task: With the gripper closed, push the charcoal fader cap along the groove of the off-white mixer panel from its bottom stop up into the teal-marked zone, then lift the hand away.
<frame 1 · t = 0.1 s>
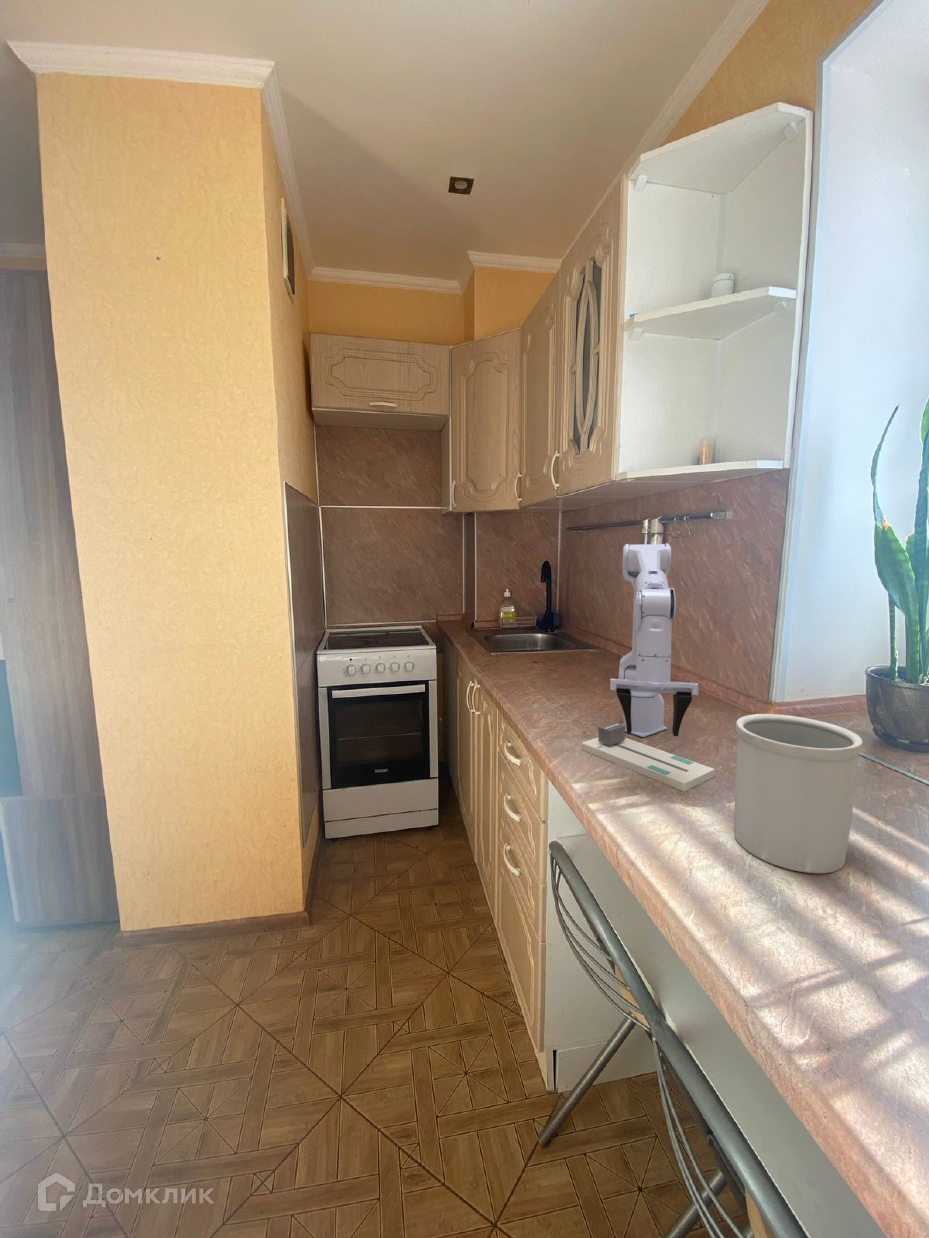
hand: (651, 733, 90), 11 cm above the worktop, tool pointing down, fingers open, 7 cm apart
utensil holder: (786, 845, 74), on the worktop
mixer panel: (643, 762, 103), on the worktop
fader: (611, 733, 109), point 4 cm above the worktop, slide at 0.0 cm
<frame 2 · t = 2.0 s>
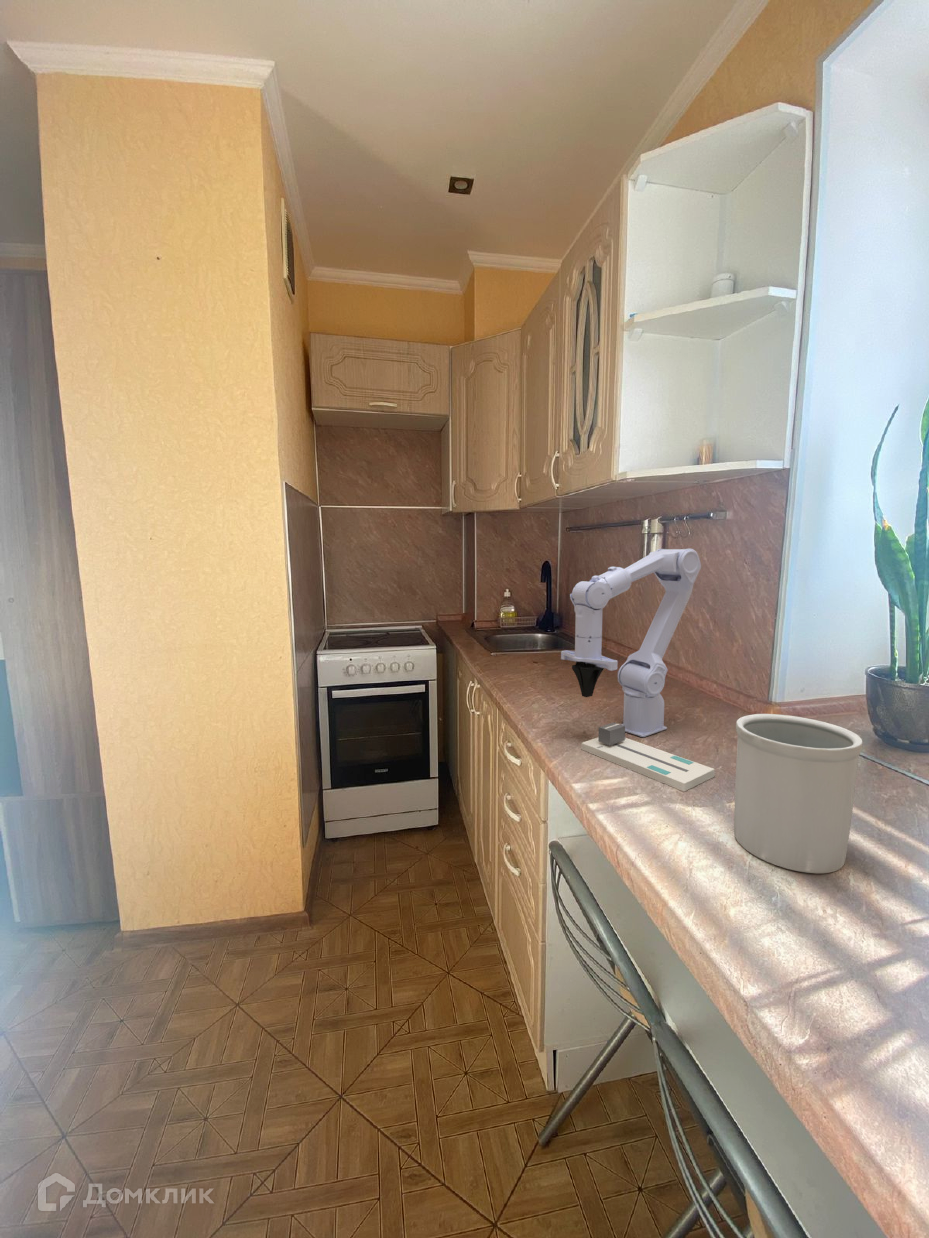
hand: (587, 695, 114), 10 cm above the worktop, tool pointing down, fingers closed
nothing on the worktop moved.
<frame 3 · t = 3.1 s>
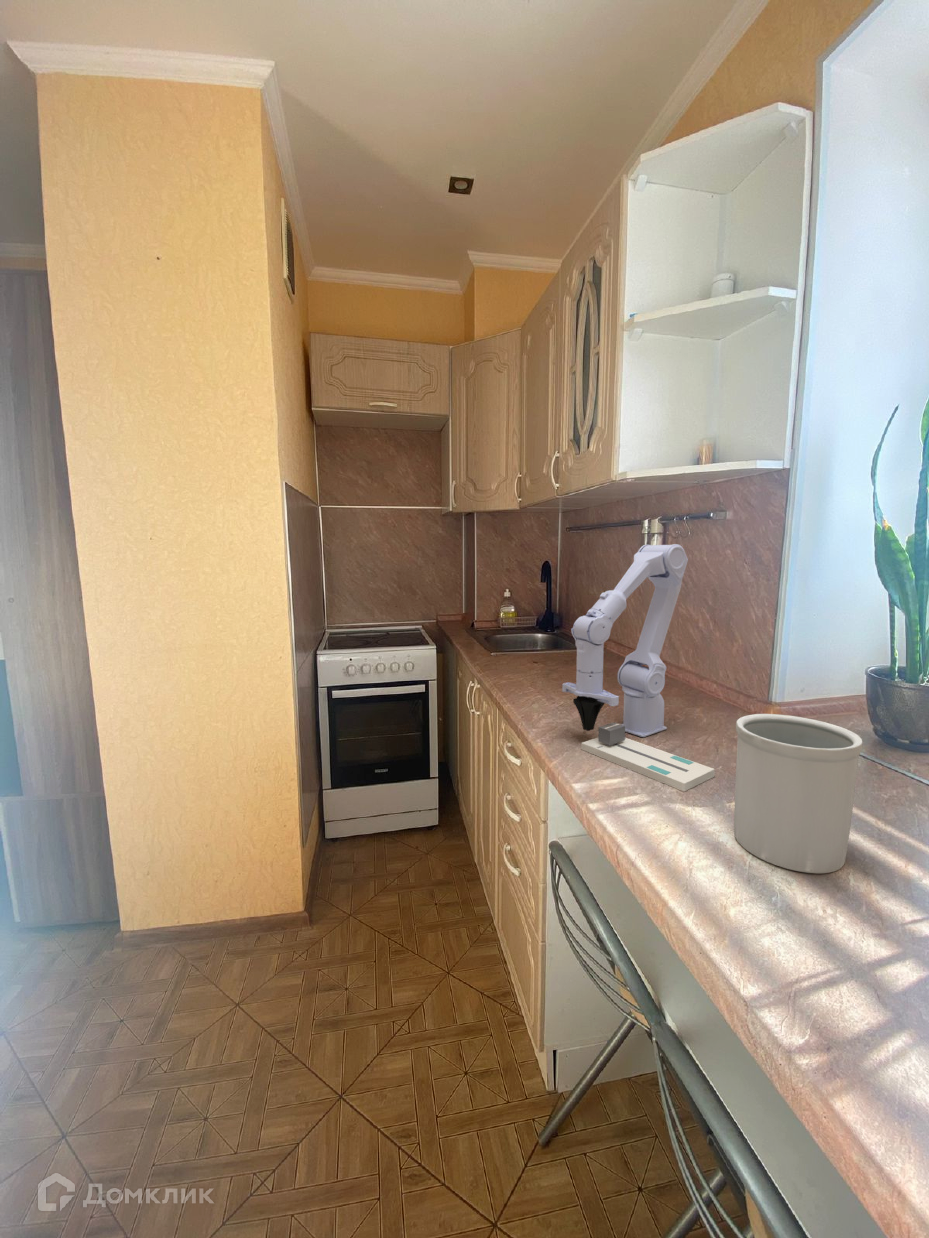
hand: (588, 729, 114), 3 cm above the worktop, tool pointing down, fingers closed
nothing on the worktop moved.
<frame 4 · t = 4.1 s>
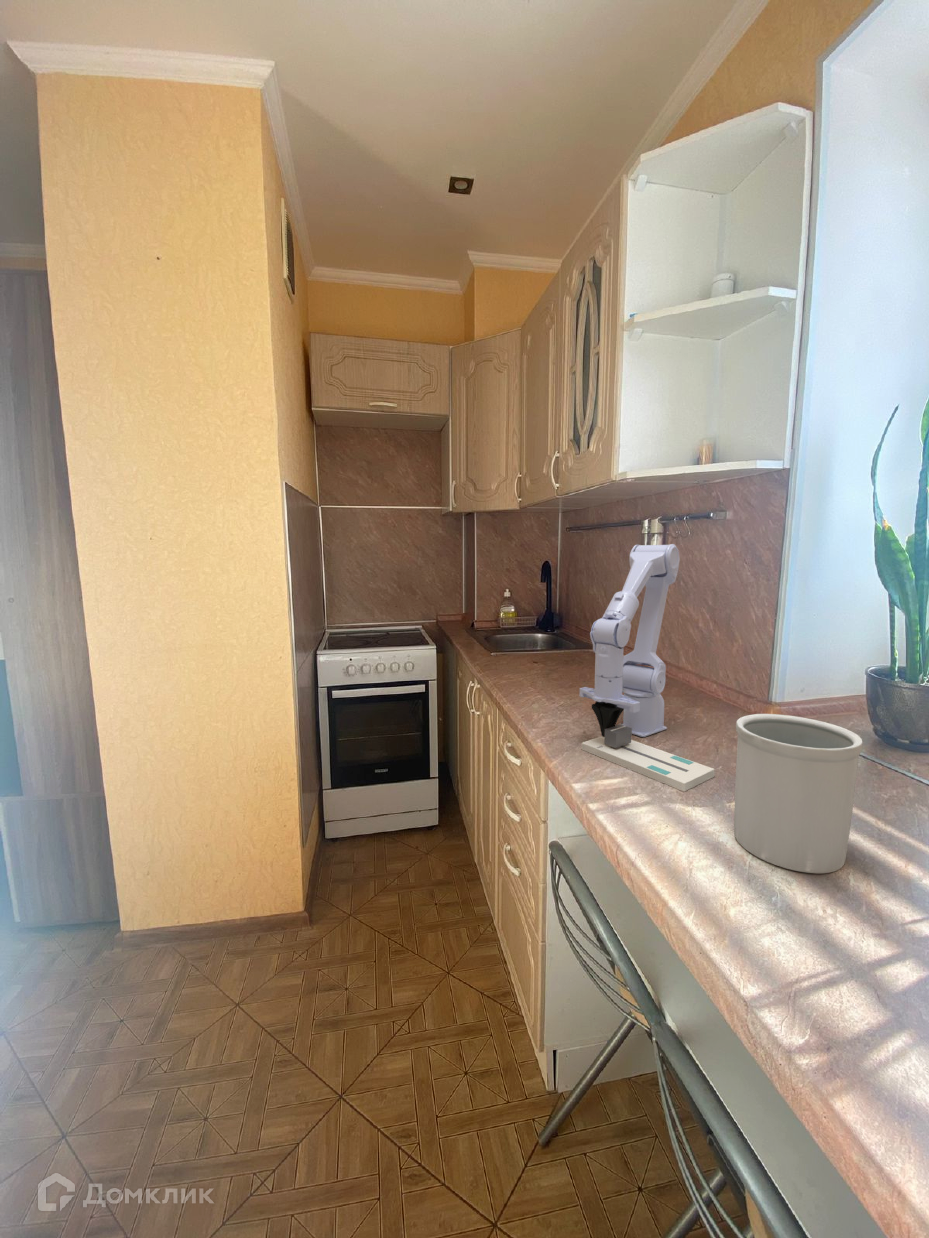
hand: (607, 736, 110), 3 cm above the worktop, tool pointing down, fingers closed
fader: (618, 735, 107), point 4 cm above the worktop, slide at 1.6 cm, touching gripper
everything else where it was.
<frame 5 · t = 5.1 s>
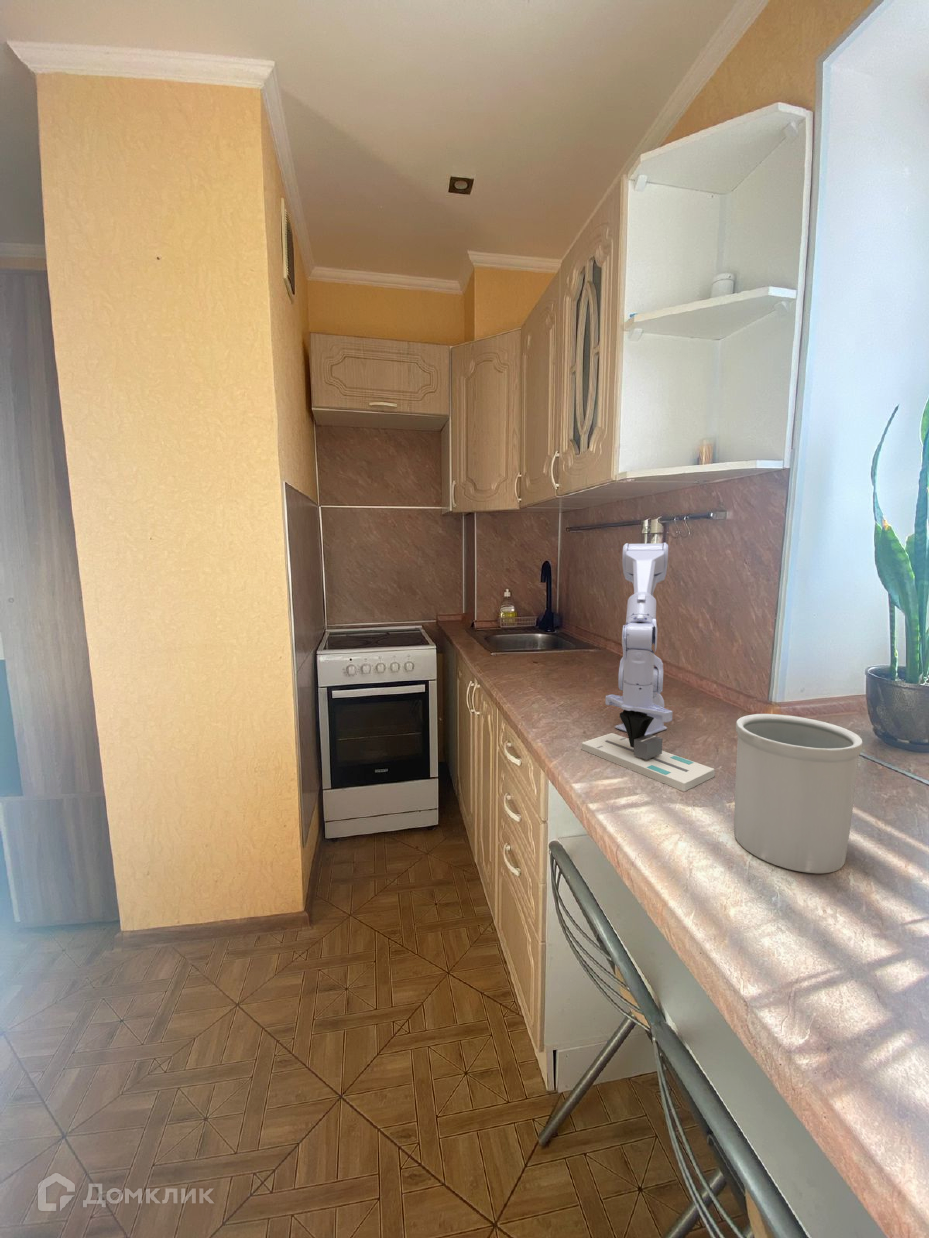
hand: (635, 746, 104), 3 cm above the worktop, tool pointing down, fingers closed
fader: (648, 746, 102), point 4 cm above the worktop, slide at 9.0 cm, touching gripper
everything else where it was.
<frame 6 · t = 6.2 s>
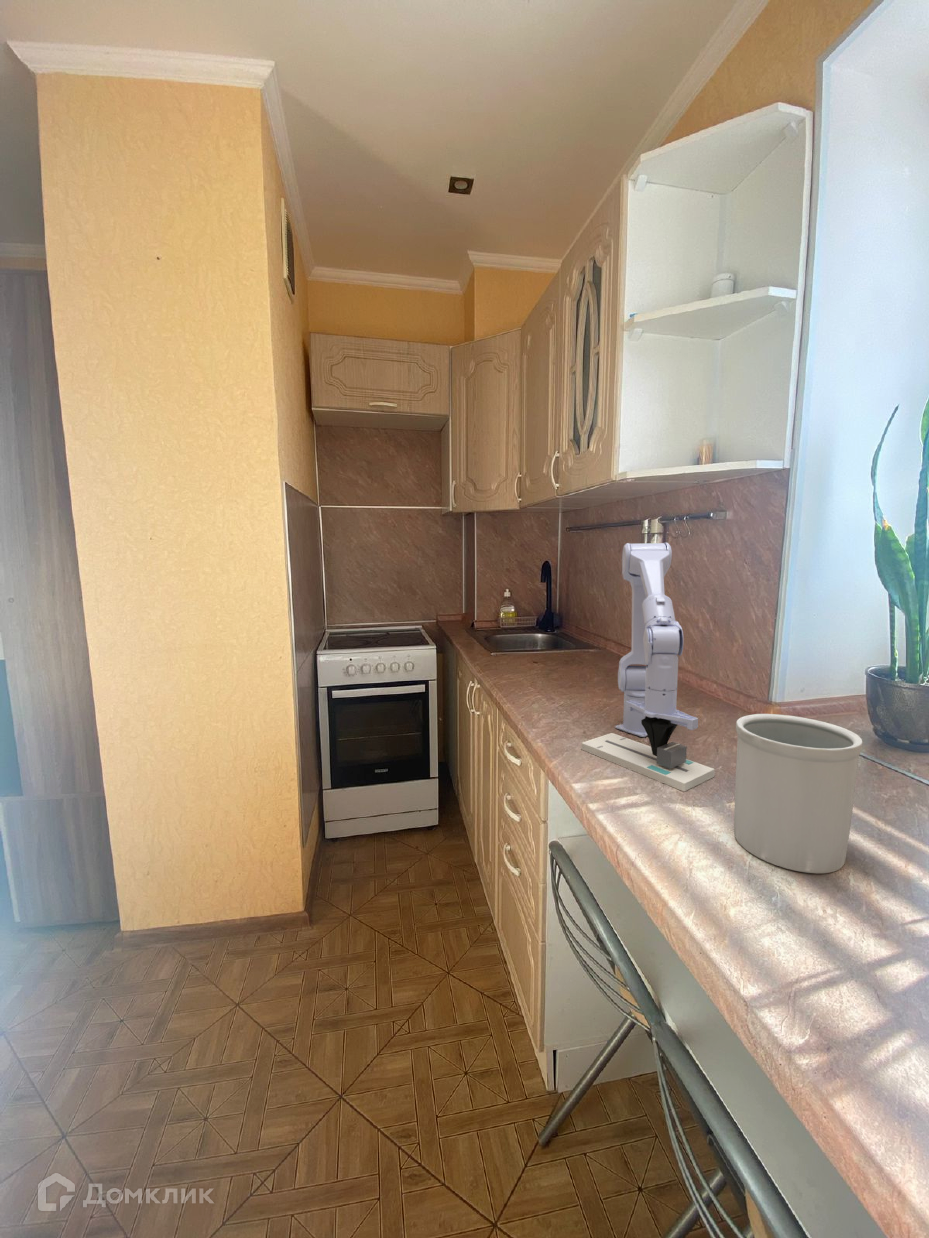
hand: (658, 754, 100), 3 cm above the worktop, tool pointing down, fingers closed
fader: (671, 754, 97), point 4 cm above the worktop, slide at 14.2 cm, touching gripper
everything else where it was.
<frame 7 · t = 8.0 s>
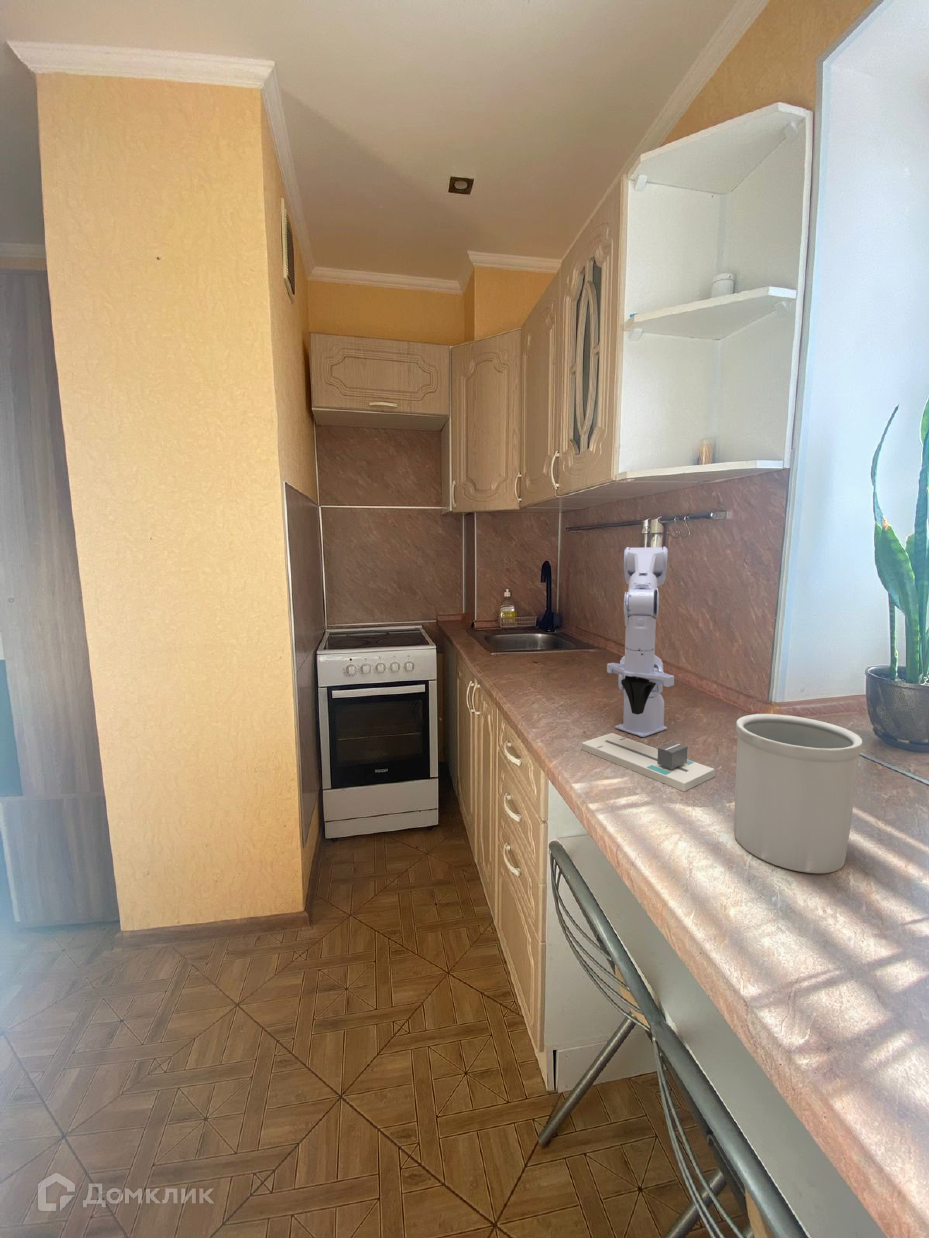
hand: (637, 712, 105), 9 cm above the worktop, tool pointing down, fingers closed
fader: (672, 754, 97), point 4 cm above the worktop, slide at 14.3 cm
everything else where it was.
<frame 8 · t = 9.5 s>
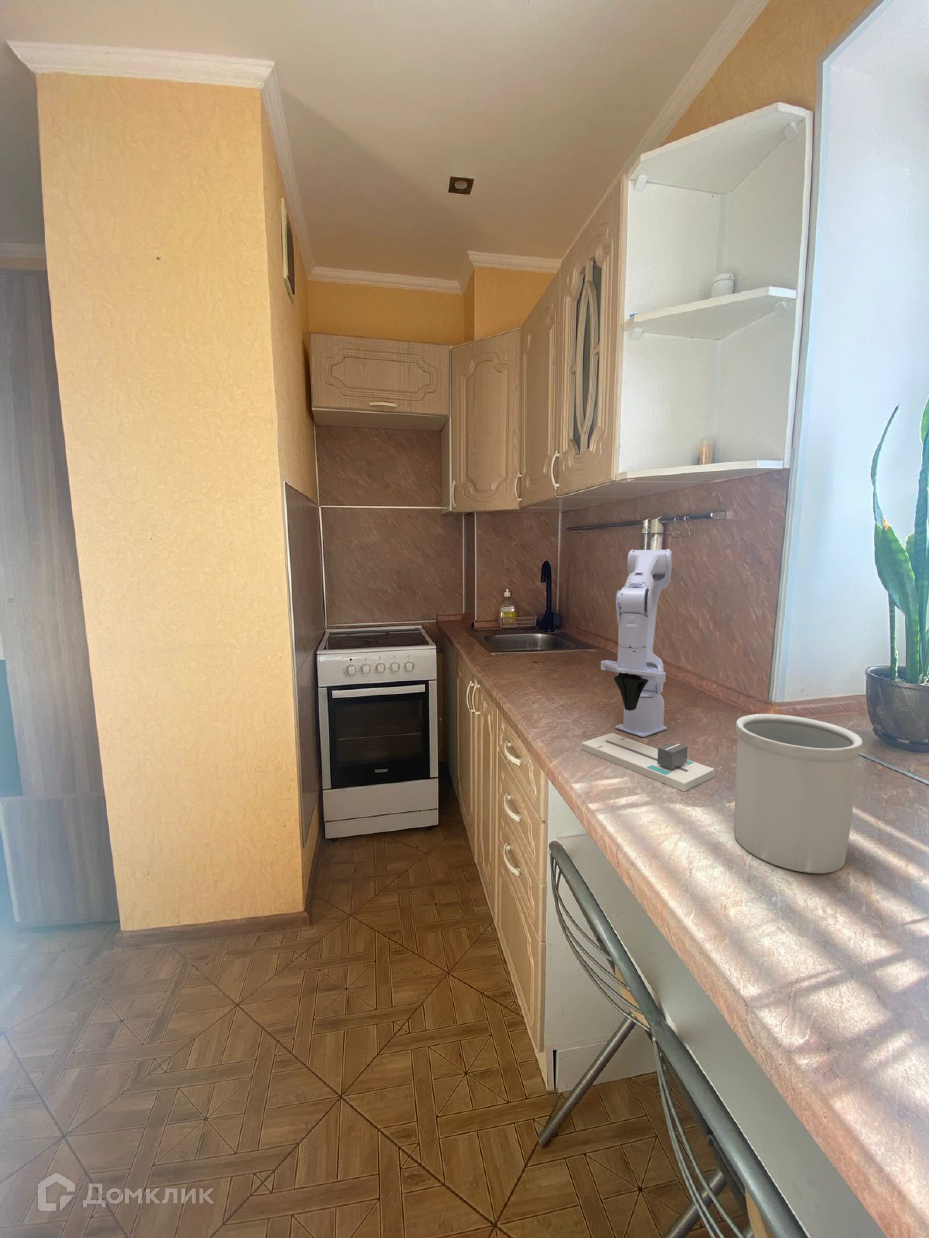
hand: (630, 709, 107), 9 cm above the worktop, tool pointing down, fingers closed
nothing on the worktop moved.
at the end: fader slide at 14.3 cm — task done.
